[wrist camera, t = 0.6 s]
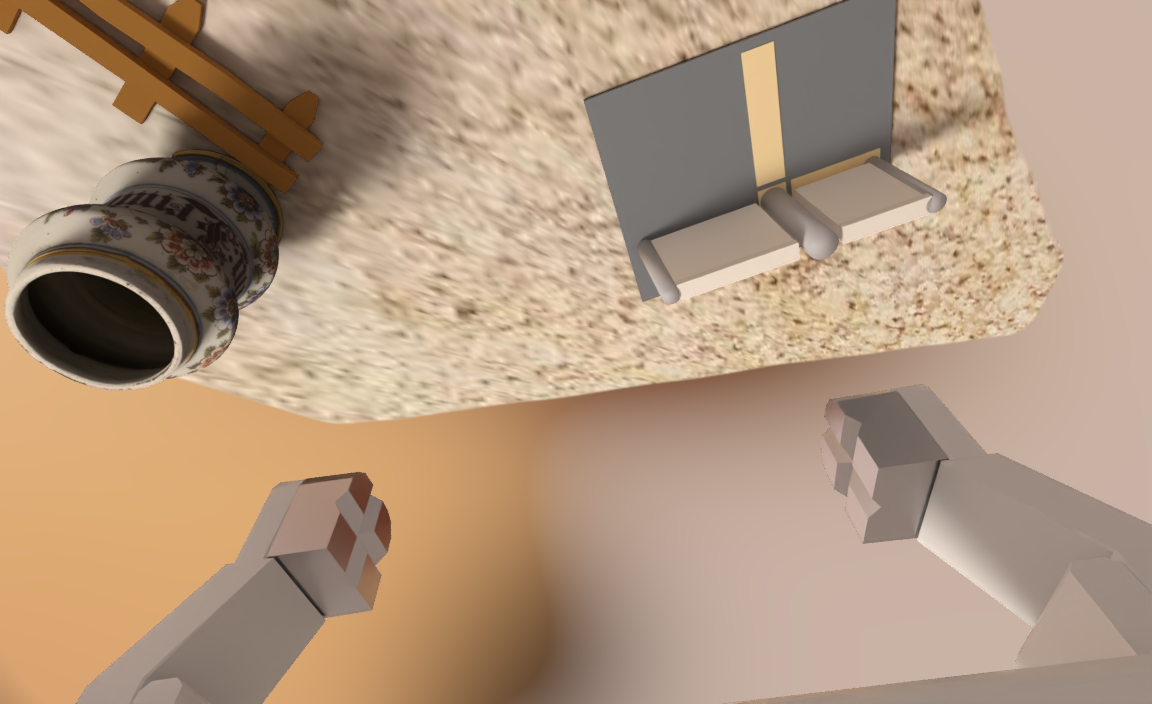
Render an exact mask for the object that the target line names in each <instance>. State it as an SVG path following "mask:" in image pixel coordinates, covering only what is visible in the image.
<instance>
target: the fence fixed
mask: <svg viewBox="0 0 1152 704" xmlns="http://www.w3.org/2000/svg"><path fill="white" fill-rule="evenodd" d="M794 193H795V199H794V198H792V197H791V196H790V195H789V194H788V193H787V192H785V191H784V190H783V189H782V188H779V187H774V188H771V189H769V190H768V191H766V192H765V193H764V195H763V196H762V198H761V203H760V204H761V208H762V209H763V210H764V211H765V212H766V213H767V214H768V215H769V216H770V217H771V218H772V219H773V220H774V221H775V222H776V223H777V224H778V225H779V226H780V227H781V228H782V229H783V230H784V231H785V232H786V233H787V234H788V235H790V236H791V237H792V238H793V239H794V240H796V241H797V242H798V243H799V245H800V246H801V247H802V248H803V249H804V250H805V251H806V252H807V253H808V254H809V255H810V256H811V257H812V258H814V259H818V260H819V259H824V258H827V257H829V256H830V255H831V254H833V253H834V251H835V250H836V248H837V246H838V243H839V239H840V242H842V243H843V244H846V243H849V242H852V241H855V240H858V239H861V238H864V237H866V236H869V235H872V234H875V233H878V232H881V231H884V230H887V229H889V228H892V227H895V226H898V225H901V224H904V223H907V222H910V221H912V220H915V219H918V218H921V217H924V216H927V215H930V214H931V213H935V212H938V211H939V210H941V209H942V208H943V207H944V205H945V204H946V200H947V197H946V195H945V194H943V193H941V192H939V191H938V190H936V189H934V188H932V187H930V186H929V185H927V184H925V183H923V182H922V181H920V180H918V179H916V178H914V177H913V176H911V175H909V174H907V173H906V172H904V171H902V170H900V169H898V168H897V167H895V166H893V165H891V164H890V163H888V162H886V161H884V160H882V159H881V158H879V157H877V156H872V157H870V158H868V159H867V160H866V161H865V163H864V164H863V165H861V166H858V167H855V168H852V169H849V170H847V171H844V172H841V173H838V174H835V175H833V176H830V177H827V178H824V179H821V180H819V181H816V182H813V183H810V184H807V185H805V186H802V187H799V188H796V189H794ZM838 238H839V239H838Z"/></svg>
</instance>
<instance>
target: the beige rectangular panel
mask: <svg viewBox="0 0 1152 704" xmlns="http://www.w3.org/2000/svg"><path fill="white" fill-rule="evenodd" d="M637 251H638V253H639V255H640V257H641V259H642V261H643V263H644V265H645V267H646V269H647V271H648V272H649V274H650V276H651V278H652V280H653V282H654V284H655V286H656V288H657V290H658V292H659V294H660V296H661V298H662V300H663V302H664V303H666V304H674V303H676V302H677V301H678V300H679V299H680V301H682V300H685V299H688V298H691V297H694V296H697V295H700V294H702V293H705V292H708V291H711V290H714V289H717V288H720V287H723V286H726V285H728V284H731V283H734V282H737V281H740V280H743V279H746V278H749V277H751V276H754V275H757V274H760V273H763V272H766V271H769V270H772V269H774V268H777V267H780V266H783V265H786V264H789V263H792V262H795V261H797V260H800V255H799V243H798V242H797V241H796V240H793V239H792V238H791V237H790V236H789V235H788V234H787V233H786V232H785V231H784V230H783V229H782V228H781V227H780V226H779V225H778V224H777V223H776V222H775V221H774V220H773V219H772V218H771V217H770V216H769V215H768V214H766V213H765V212H764V211H763V210H762V209H761V208H760V207H759V206H758V205H757V204H756V203H754V204H751V205H749V206H746V207H743V208H740V209H737V210H735V211H732V212H729V213H726V214H723V215H721V216H718V217H715V218H712V219H709V220H707V221H704V222H701V223H698V224H695V225H693V226H690V227H687V228H684V229H681V230H679V231H676V232H673V233H670V234H668V235H665V236H662V237H659V238H656V239H654V240H648V239H645V240H642V241H641V242H640V243H639V244H638V246H637Z"/></svg>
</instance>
